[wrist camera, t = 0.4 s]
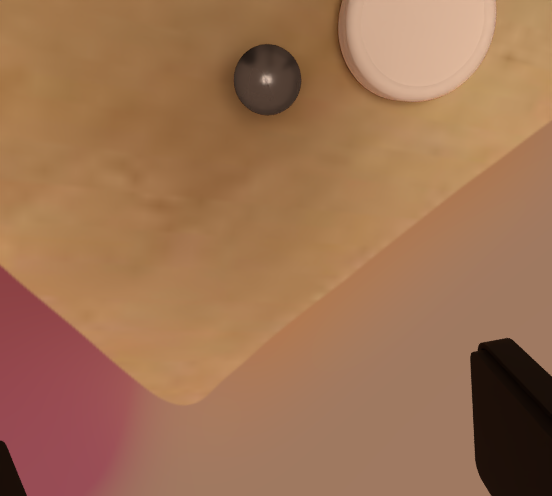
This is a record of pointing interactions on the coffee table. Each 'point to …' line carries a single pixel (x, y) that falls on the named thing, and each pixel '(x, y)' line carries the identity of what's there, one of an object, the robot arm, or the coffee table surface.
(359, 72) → the coaster
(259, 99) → the posts
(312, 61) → the coffee table surface
